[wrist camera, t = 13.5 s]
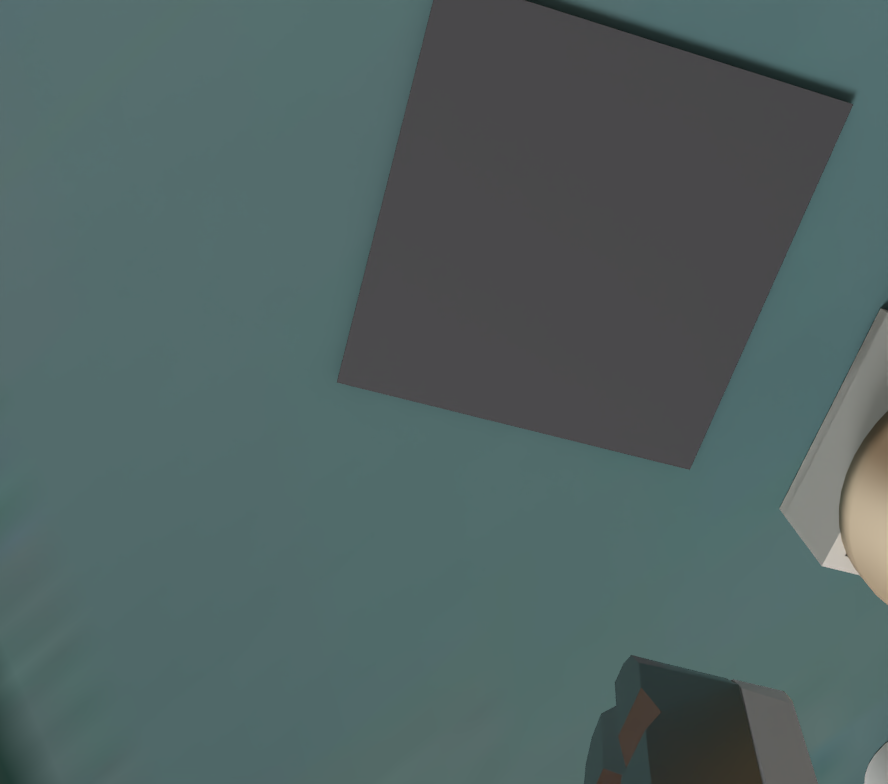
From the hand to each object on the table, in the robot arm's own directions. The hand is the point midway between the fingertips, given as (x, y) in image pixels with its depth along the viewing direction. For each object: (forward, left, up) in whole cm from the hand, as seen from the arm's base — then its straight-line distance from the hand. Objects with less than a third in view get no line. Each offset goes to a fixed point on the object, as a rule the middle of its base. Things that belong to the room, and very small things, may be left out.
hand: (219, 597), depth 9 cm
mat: (+1, +9, -26) cm, 28 cm away
